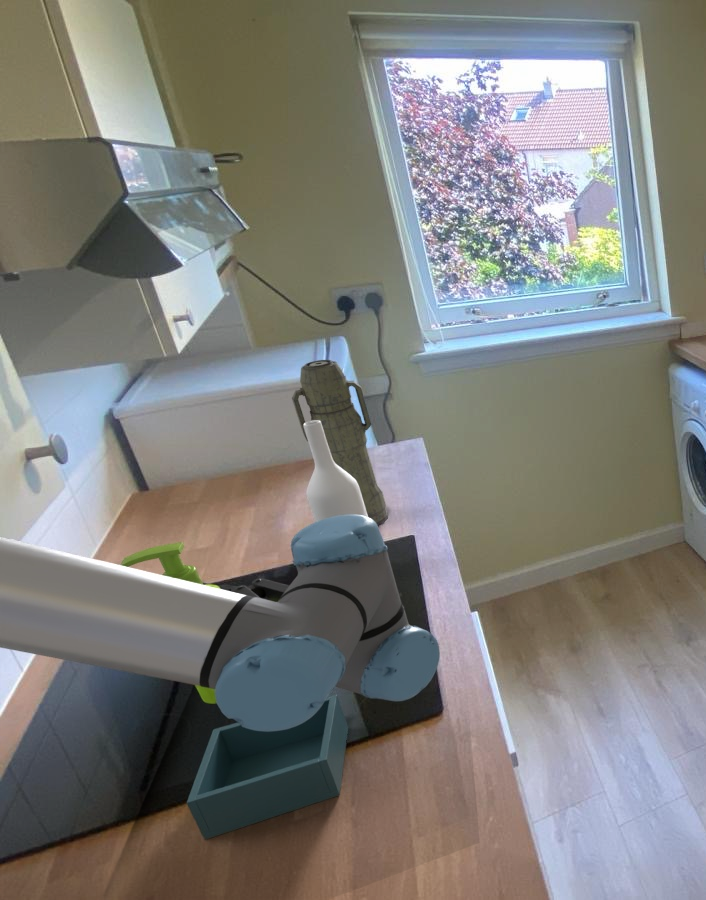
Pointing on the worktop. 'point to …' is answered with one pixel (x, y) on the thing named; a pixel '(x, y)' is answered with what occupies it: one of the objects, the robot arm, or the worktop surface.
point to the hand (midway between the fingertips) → (165, 606)
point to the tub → (268, 771)
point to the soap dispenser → (175, 570)
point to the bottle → (330, 481)
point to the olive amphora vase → (341, 427)
